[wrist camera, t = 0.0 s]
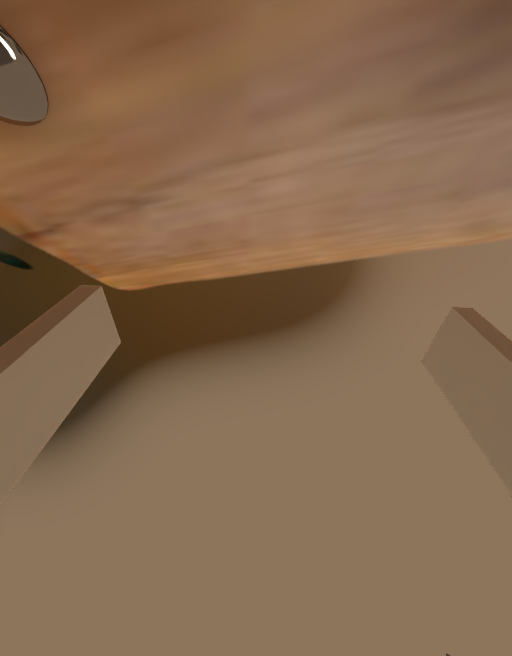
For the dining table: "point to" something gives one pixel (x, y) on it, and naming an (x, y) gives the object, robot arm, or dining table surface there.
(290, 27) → the dining table surface
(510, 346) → the robot arm
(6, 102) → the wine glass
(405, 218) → the dining table surface
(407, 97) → the dining table surface
